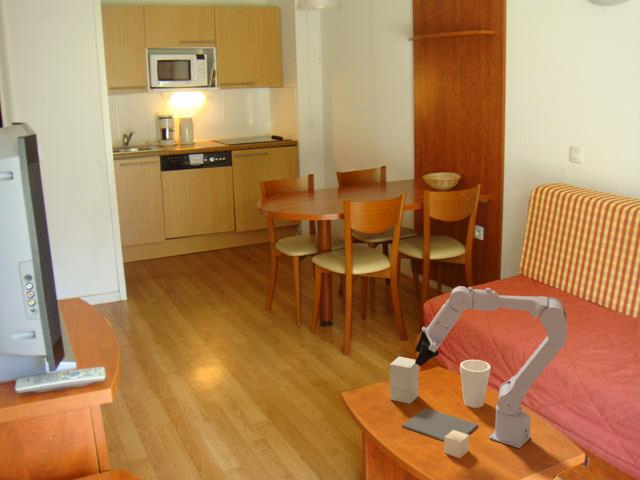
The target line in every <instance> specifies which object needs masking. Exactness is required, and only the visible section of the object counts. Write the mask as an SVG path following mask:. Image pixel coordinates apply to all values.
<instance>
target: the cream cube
mask: <svg viewBox="0 0 640 480" xmlns="http://www.w3.org/2000/svg"><path fill="white" fill-rule="evenodd" d="M443 442H444V444H443V445H444V446H443V453H444V454H447V455H449V456H452V457H455V458H458V459H462V458H463V457H464V455H466V454H467V453H468V452H469V447H470V434H468V435H467V434H464V433H461V432H458V431H455V430H452V431H451V432H450V433H449V434H447V435H446V436H445V437H444V441H443Z"/></svg>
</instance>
